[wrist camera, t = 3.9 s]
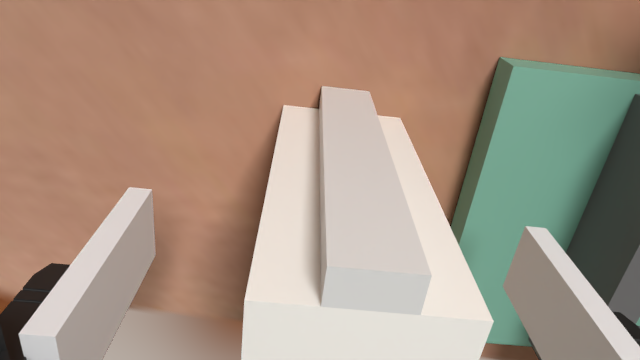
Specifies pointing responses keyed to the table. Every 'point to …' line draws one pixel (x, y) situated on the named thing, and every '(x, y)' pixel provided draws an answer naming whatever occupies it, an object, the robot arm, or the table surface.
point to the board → (555, 183)
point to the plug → (356, 247)
